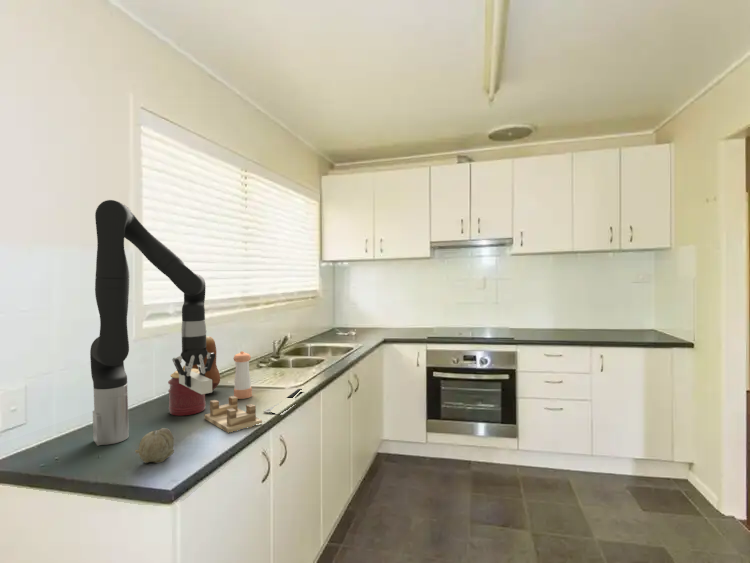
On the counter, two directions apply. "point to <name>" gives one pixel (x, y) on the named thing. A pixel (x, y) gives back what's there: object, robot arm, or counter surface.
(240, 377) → the salt shaker
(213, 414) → the wooden plate with pegs
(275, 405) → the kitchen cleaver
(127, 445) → the counter surface
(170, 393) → the canister
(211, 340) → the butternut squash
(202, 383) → the cream white rectangular bar
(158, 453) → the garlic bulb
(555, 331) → the counter surface
